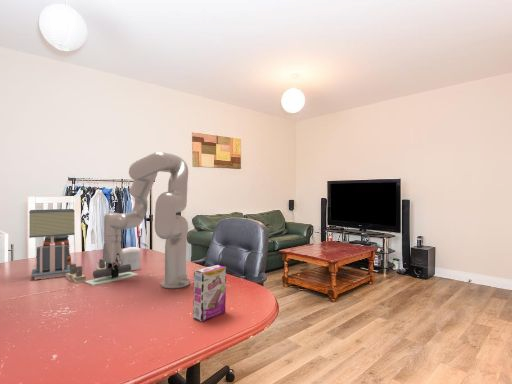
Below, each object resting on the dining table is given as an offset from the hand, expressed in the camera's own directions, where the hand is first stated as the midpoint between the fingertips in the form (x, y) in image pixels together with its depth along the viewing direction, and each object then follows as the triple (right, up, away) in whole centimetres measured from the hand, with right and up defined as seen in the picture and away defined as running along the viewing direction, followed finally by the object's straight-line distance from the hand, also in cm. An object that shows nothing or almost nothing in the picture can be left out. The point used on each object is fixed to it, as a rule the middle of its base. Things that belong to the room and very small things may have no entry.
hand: (112, 276), depth 150 cm
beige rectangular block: (-13, -1, +18) cm, 22 cm away
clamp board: (-12, -1, +3) cm, 13 cm away
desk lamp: (-33, -1, +6) cm, 34 cm away
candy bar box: (+53, -2, -43) cm, 68 cm away
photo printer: (+2, -2, +16) cm, 17 cm away
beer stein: (-46, -1, +29) cm, 55 cm away
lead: (0, +1, 0) cm, 1 cm away
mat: (0, -1, 0) cm, 1 cm away
